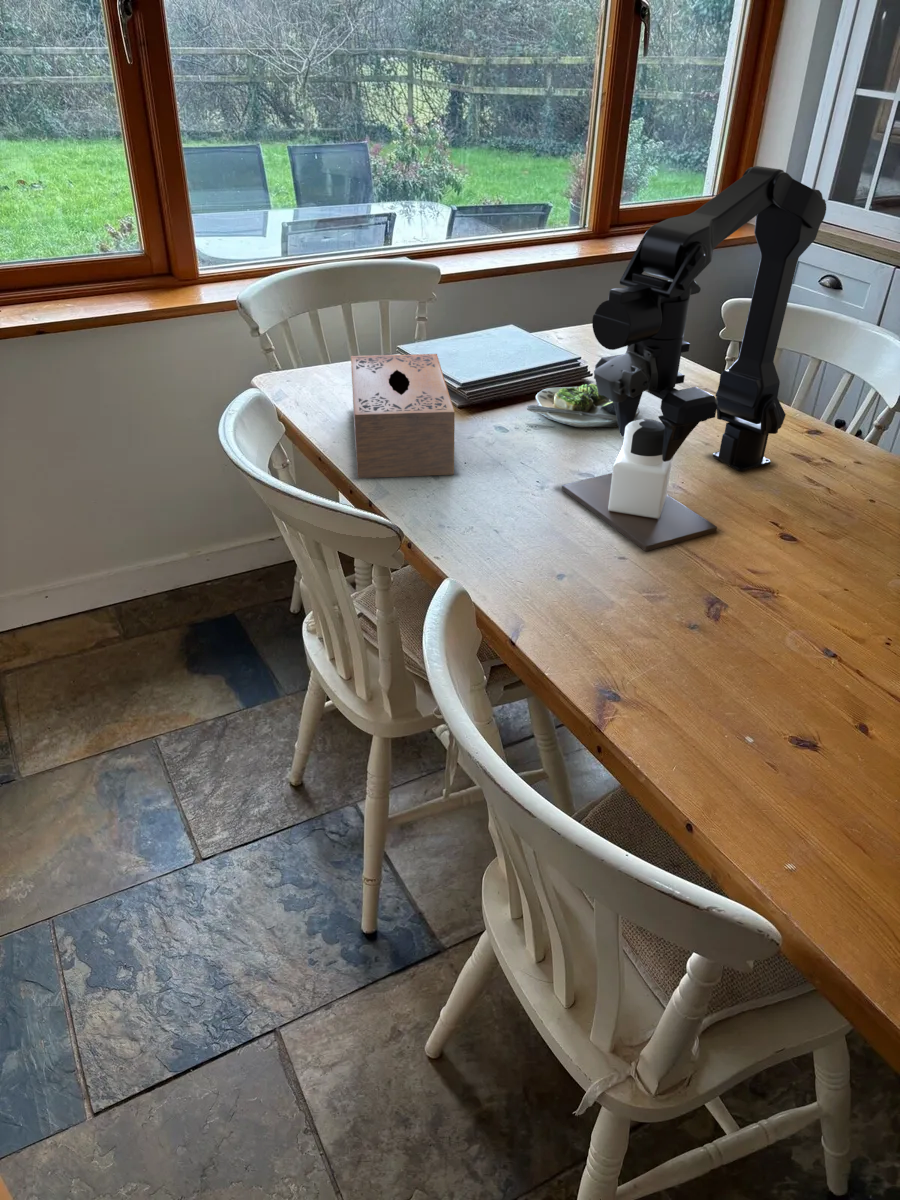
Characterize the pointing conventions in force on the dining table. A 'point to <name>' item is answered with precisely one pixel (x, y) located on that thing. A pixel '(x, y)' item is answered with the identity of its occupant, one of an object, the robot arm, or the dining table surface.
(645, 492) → the medicine bottle
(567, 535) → the dining table surface
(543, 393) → the salad plate
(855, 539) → the dining table surface
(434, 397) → the tissue box cover
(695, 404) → the robot arm
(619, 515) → the walnut mat
